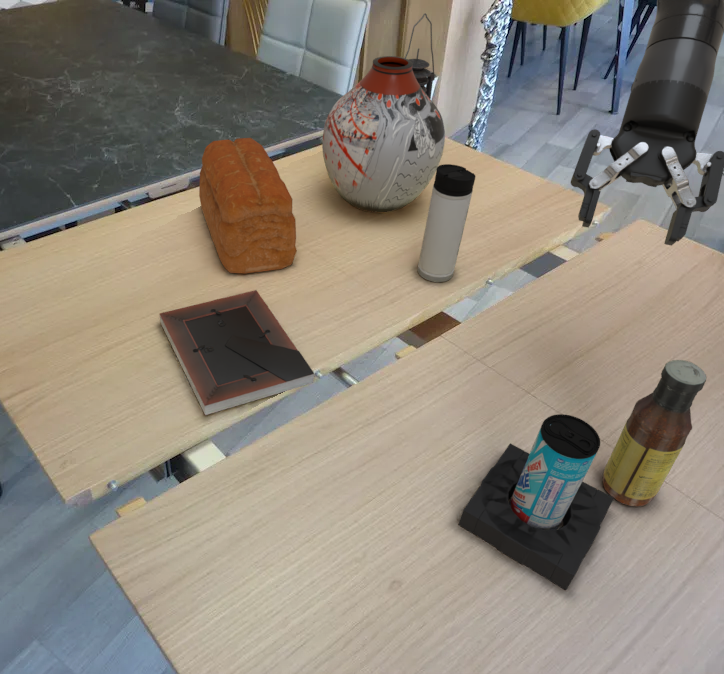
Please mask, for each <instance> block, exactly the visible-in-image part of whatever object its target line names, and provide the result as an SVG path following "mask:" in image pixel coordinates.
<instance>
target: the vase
mask: <svg viewBox="0 0 724 674" xmlns="http://www.w3.org/2000/svg"><path fill="white" fill-rule="evenodd" d="M412 66H413V63H412V62H411V61H410V60H408V58H406V59H405V57H403V56H402V57H401V56H395V55H394V56H393V55H385V56H379V57H376V58H374V59H373V60H372V65H371V67H370V69H369V70H368V72H367V73H366V74H365V75H364V76H363V78H361V80H359V82H358V83H356V84H355V85H354V86H353V87H352V88H351V89H349V90H348V91H347V92H346V93H345V94H344V95H342V96H341V97H340V98H339V99H338V100H337V101H336V102H335V103H334V104H333V106H332V107H331V109H330V111H329V112H328V114H327V116H326V119H325V122H324V126H323V132H322V142H321V143H322V144H321V147H322V156H323V163H324V165H325V169H326V173H327V175H328V179H329V180H330V182H331V184H332V186H333V187H334V189H335V190H336V192H337V193H338V194H339V196H340V197H341V198H342V199H343V200H345V201H346V203H348V204H349V205H351V206H352V207H354V208H356V209H358V210H360V211H363V212H366V213H367V212H368V213H373V214H384V213H391V212H394V211H397V210H399V209H402V208H404V207H406V206H407V205H409V204H410V203H412V202H413V201H414V200H415V199H417V198H418V197H419V196H420V195H421V194H422V193H423V192H424V190H425V189H426V188H427V186H428V185H429V184H430V183H431V181H432V179H433V178H434V176H435V175H436V171H437V167H438V166H440V163H441V159H442V156H443V152H444V148H445V142H446V131H445V124H444V120H443V116H442V114H441V113H440V110H439V108H438V107H437V106H436V104H435V103H434V101H432V98H431V99H430V98H429V97H428V96H427V94H426V93H425V92H424V91H423V89H422V88H421V86H420V85H419V83H418V81H417V80H416V78H415V76H414V73H413V70H412Z"/></svg>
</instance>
